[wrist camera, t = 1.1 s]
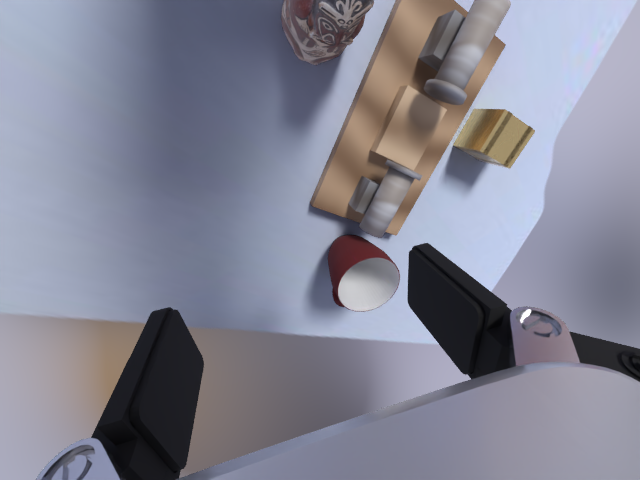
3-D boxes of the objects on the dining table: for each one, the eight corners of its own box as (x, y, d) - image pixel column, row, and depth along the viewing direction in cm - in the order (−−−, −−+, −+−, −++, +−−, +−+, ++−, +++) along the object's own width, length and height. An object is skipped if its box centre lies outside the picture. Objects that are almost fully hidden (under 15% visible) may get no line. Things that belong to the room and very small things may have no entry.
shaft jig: (407, -26, 27) (460, -70, 20) (494, 47, 33) (561, 32, 26) (309, 202, 36) (324, 226, 29) (391, 231, 41) (420, 257, 34)
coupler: (452, 145, 37) (479, 151, 33) (474, 108, 36) (505, 109, 31) (481, 161, 39) (509, 168, 35) (502, 127, 38) (535, 130, 33)
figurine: (275, 52, 28) (290, 21, 17) (288, -37, 25) (315, -136, 15) (338, 72, 30) (385, 57, 20) (356, -7, 27) (422, -74, 17)
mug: (356, 283, 44) (381, 327, 36) (309, 280, 42) (325, 327, 33) (375, 225, 40) (409, 259, 32) (324, 219, 38) (347, 253, 29)
